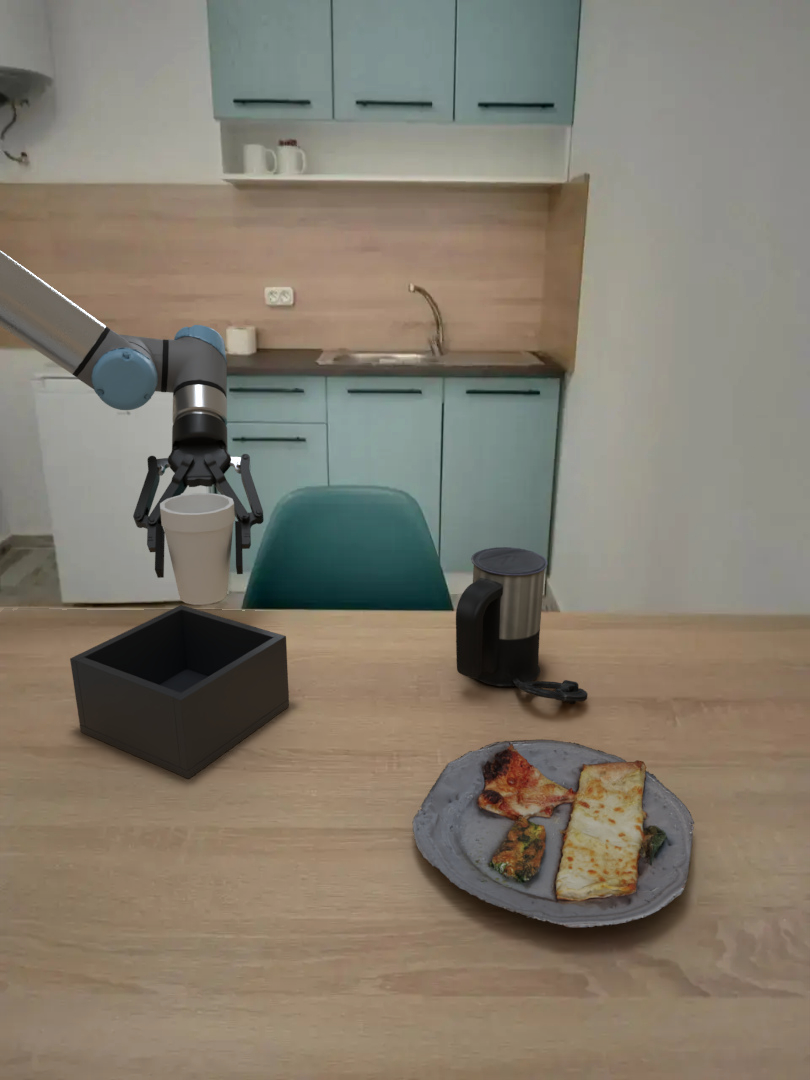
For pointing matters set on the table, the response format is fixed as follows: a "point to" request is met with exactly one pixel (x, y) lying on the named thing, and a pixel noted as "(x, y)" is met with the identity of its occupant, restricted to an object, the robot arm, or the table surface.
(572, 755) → the food plate
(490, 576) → the milk frother
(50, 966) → the table surface
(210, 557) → the foam cup
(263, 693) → the black storage bin
